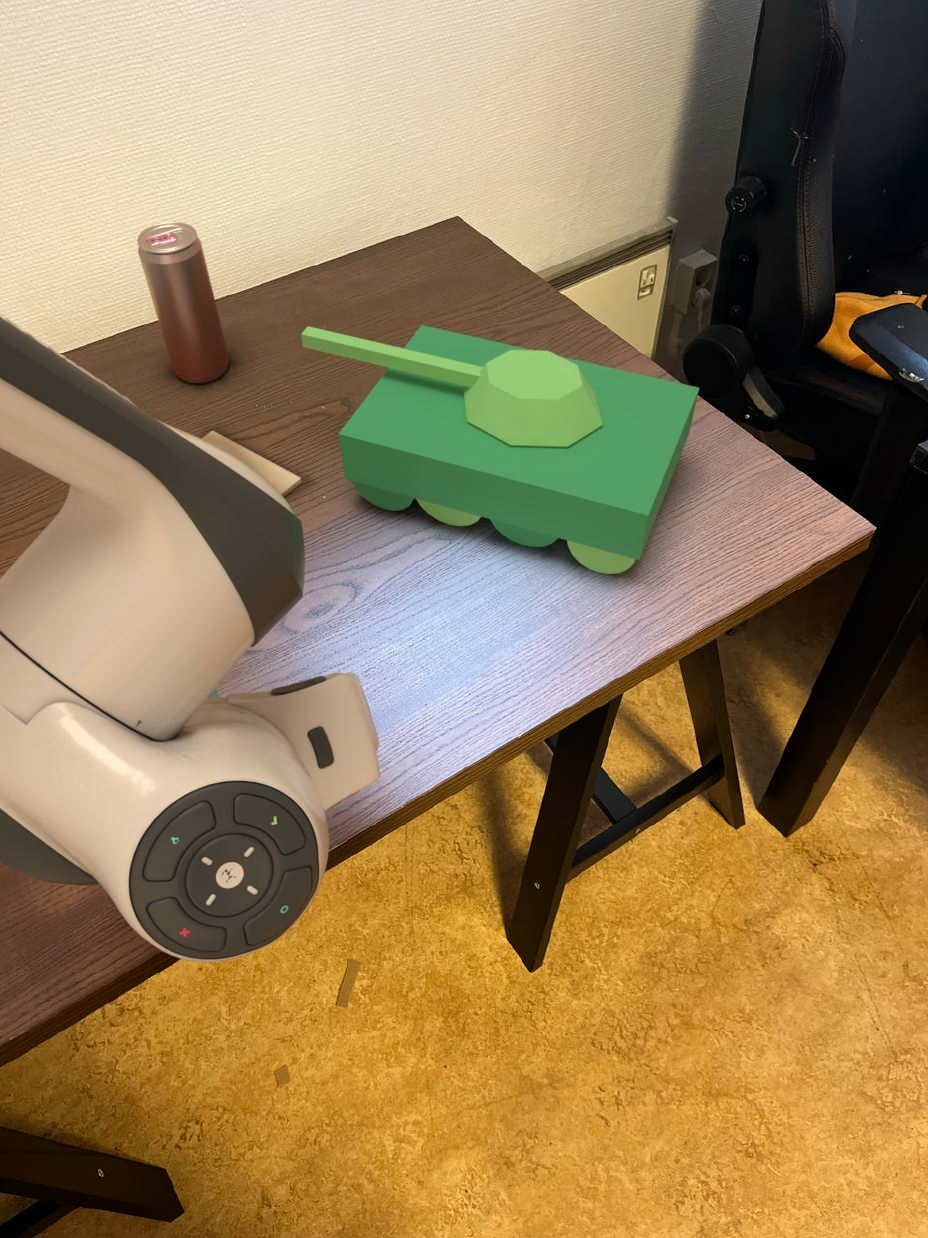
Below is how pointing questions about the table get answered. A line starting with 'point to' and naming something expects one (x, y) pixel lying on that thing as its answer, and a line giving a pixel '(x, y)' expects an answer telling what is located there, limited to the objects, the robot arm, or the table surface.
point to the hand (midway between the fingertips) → (205, 739)
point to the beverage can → (183, 300)
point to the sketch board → (257, 464)
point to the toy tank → (515, 441)
